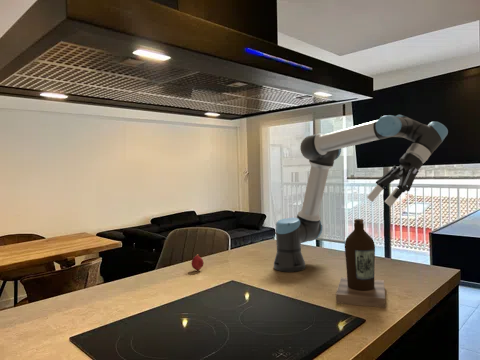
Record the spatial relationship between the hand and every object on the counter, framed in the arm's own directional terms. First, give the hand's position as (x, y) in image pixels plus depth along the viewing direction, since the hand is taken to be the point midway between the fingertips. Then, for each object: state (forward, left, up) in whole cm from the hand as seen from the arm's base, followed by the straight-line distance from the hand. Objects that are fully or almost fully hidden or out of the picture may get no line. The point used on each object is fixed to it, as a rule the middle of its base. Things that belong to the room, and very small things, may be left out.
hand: (378, 201), depth 130 cm
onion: (-9, -83, -34) cm, 90 cm away
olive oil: (+5, -7, -31) cm, 32 cm away
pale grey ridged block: (+5, -7, -34) cm, 35 cm away
